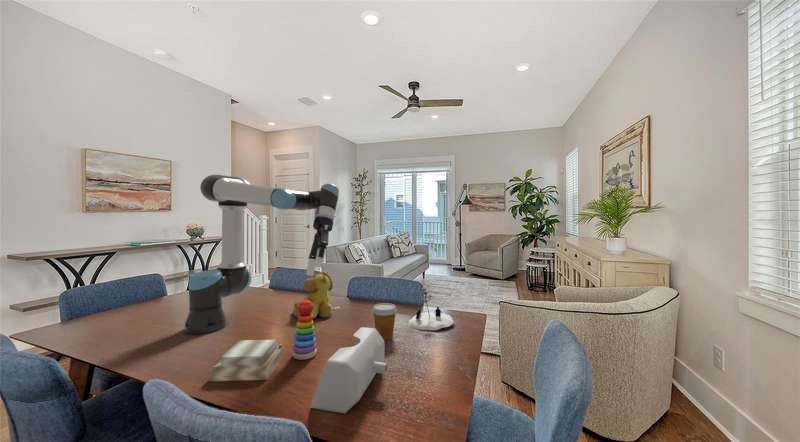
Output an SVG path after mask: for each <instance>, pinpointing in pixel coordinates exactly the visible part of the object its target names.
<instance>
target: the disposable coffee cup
mask: <svg viewBox="0 0 800 442" xmlns="http://www.w3.org/2000/svg"><path fill="white" fill-rule="evenodd" d="M397 310H398V309H397V308H396V305H395V304H393V303H389V302H388V303H387V302H383V303H376V304H375V305H373V307H372V310H371V311H372V313H373V320H374V328H376V330H377V331H378V333H379V334H380V335H381V337H382V338H383V340H384V341H389V340H392V339H393V337H394V336H393V335H394V330H395V329H394V328H395V320H396V312H397Z"/></svg>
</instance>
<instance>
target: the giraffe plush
mask: <svg viewBox="0 0 800 442" xmlns="http://www.w3.org/2000/svg"><path fill="white" fill-rule="evenodd" d="M333 283H334V282H333V280H332V278H331V276H330V275H329V273H328V272H326V271H323V272H322V271H319V272H318V273H317V274H315V275H313V276H312V277H310V278H309V277H308V278H306V279H305V280H304V281H303V288H304V290H305V291H306V292H309V295H307V296H306V297H305V298H303V299H302V300H301V301H303V300H309V301H311V302H312V304H313V310H312V312H311V314H312V315H313V319H312V320H313V321H314V319H316V317H318V316H319V317H320V318H330V317H331V316H332V314H333V310H337V309H340V308H341V307H340V306H334V307H333V305H331V297H330V296H329V294H328V292H331V291H332V290H333V289H334V285H333ZM301 301H298V302H295V303H294V305H293V310H292V313H293V315H294V317H295V318H298V316H299V315H300V313H299V311H298V305H299V303H300V302H301Z"/></svg>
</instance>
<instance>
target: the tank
mask: <svg viewBox="0 0 800 442" xmlns="http://www.w3.org/2000/svg"><path fill="white" fill-rule="evenodd" d="M352 337H354V338H355V339H357V340H356V343H355V345H353V346H346V347H340V348H338V350H337V351H336V352H334V354H333V355H331V356H330V357H329V358H328V359H327V361H326V362H325V364H324V366H323V370H322V372H321V374H320V377H319V381H318V383H317V385H316V390H315V392H314V394H313V398H312V400H311V404H310V409H315V410H321V411H322V410H323V411H327V412H334V413H340V414H346V413H347V412H349V410H350V409H352V408H353V406H355V405H356V403H358V402H359V401H360V400H361V398H362V397H363V395H364V393H365V392H366V391H367V389H368V387H369V385H370V384H371V382H372V380H373V379H374V377H375V376H376V374H387V371H388V363H386V362H384V361H385V352H386V349H385V340H383V338H382V337H381V335H380V334H379V333H378V331H377V330H376V328H375V327H366V326H365V327H364V326H361V327H360V328H359V329H358V330H356V331H355V332H354V334H353V336H352Z"/></svg>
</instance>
